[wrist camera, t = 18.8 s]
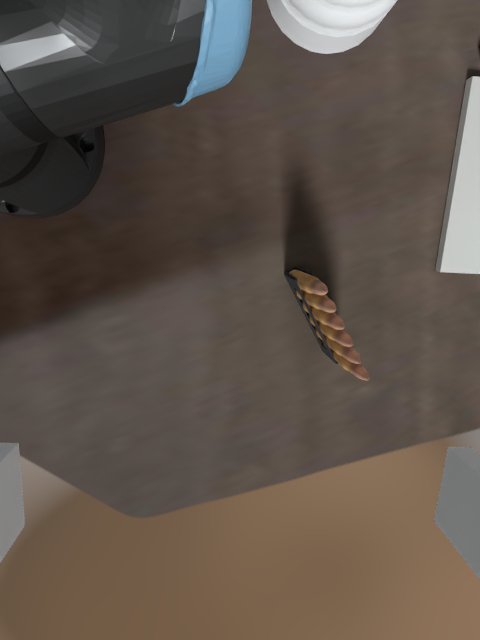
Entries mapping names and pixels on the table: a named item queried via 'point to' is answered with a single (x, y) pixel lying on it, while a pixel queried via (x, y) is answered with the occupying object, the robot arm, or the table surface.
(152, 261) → the table surface
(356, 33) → the honey pot
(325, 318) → the ammunition clip
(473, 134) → the mat
